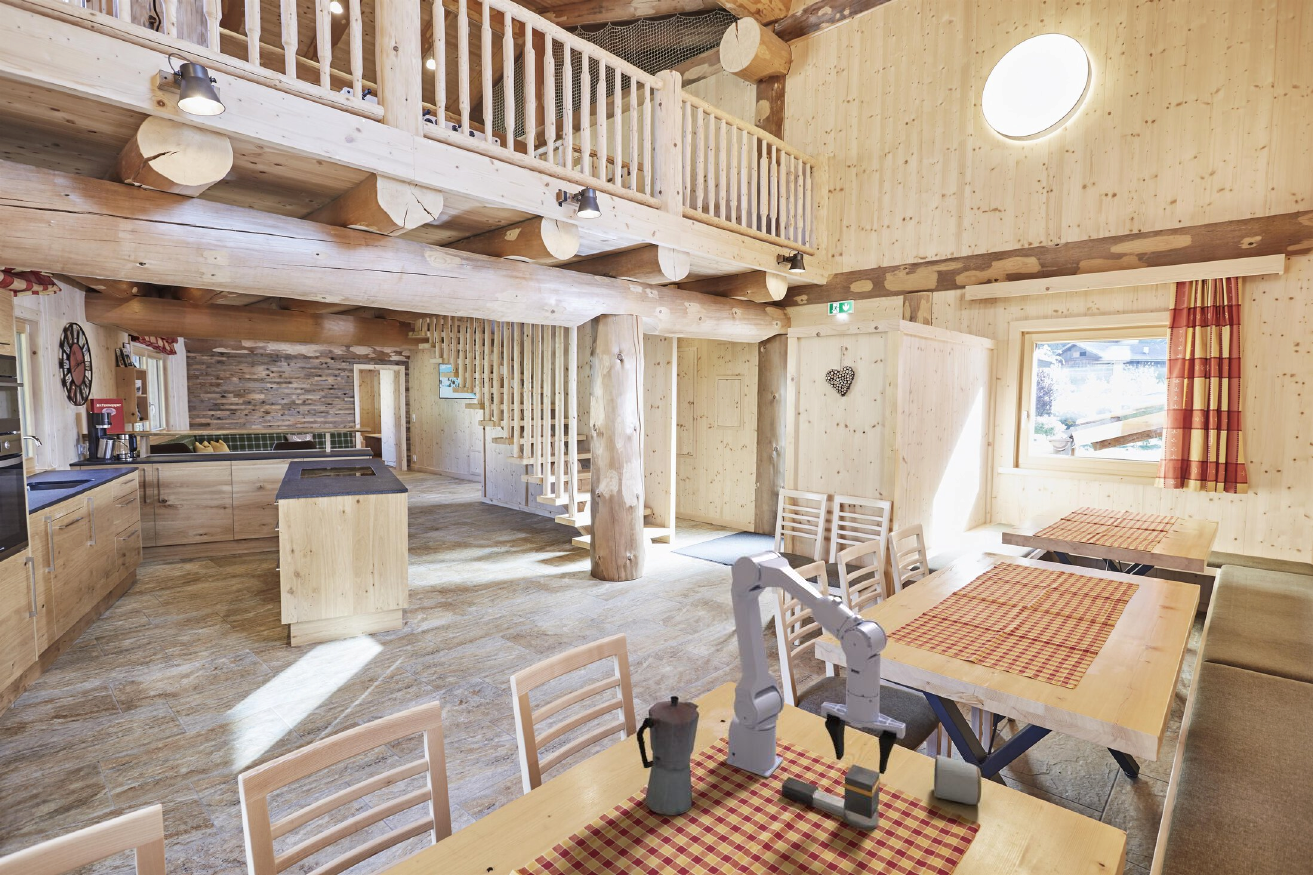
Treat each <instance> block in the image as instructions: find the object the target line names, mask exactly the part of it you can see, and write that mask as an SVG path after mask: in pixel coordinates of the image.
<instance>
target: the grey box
mask: <svg viewBox="0 0 1313 875" xmlns="http://www.w3.org/2000/svg"><path fill="white" fill-rule="evenodd" d="M880 784H881V778H880V773H879V771H875V770H872V769H869V768H866V767H863V766H859V765H856V764H852V765H851V767H850V768H849V770H848V771H847V772H846V774H845V776H844V783H843V788H844V798H843V799H844V809H845V810H848V811H850V812H853V813H856V814H859V815H862V816H864V817H867V818H870V819H872V817H873V815H874V813H875V811H876V809H877V807H879V804H880Z"/></svg>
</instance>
